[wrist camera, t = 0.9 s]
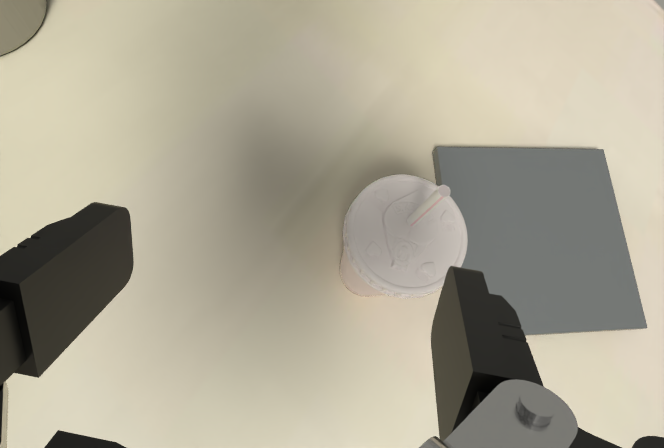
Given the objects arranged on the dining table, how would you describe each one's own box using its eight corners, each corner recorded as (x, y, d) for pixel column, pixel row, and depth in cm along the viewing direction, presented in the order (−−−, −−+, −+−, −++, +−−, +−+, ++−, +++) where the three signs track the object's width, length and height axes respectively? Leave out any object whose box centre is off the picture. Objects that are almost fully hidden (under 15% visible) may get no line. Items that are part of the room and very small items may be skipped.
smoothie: (419, 242, 34) (525, 161, 21) (397, 329, 32) (499, 301, 19) (335, 213, 33) (387, 113, 20) (307, 299, 31) (346, 249, 18)
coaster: (432, 152, 36) (437, 146, 35) (594, 154, 38) (603, 149, 38) (457, 339, 32) (463, 338, 31) (636, 329, 34) (647, 328, 34)
